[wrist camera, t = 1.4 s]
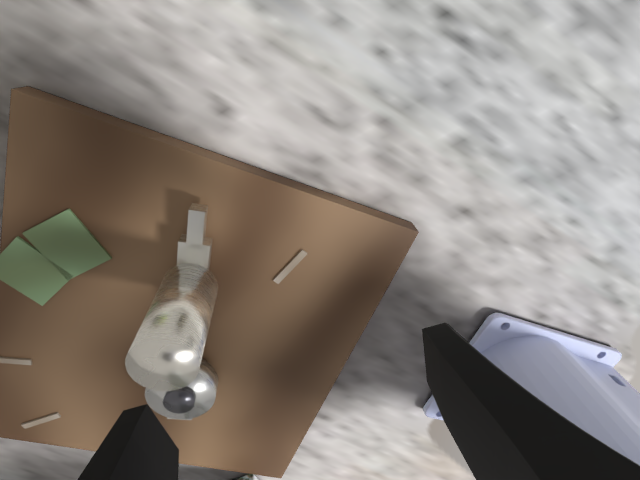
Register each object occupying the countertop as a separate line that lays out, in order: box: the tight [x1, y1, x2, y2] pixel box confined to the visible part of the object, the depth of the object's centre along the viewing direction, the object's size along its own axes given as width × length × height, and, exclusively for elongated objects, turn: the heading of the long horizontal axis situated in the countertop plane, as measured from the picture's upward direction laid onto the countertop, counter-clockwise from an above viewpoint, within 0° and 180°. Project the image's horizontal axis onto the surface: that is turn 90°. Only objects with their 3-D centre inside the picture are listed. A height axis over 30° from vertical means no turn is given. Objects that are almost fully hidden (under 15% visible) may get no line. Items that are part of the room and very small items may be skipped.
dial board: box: [0, 86, 418, 478], centre depth 19 cm, size 16×18×1 cm
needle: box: [125, 203, 218, 420], centre depth 15 cm, size 11×3×5 cm, turn 168°
